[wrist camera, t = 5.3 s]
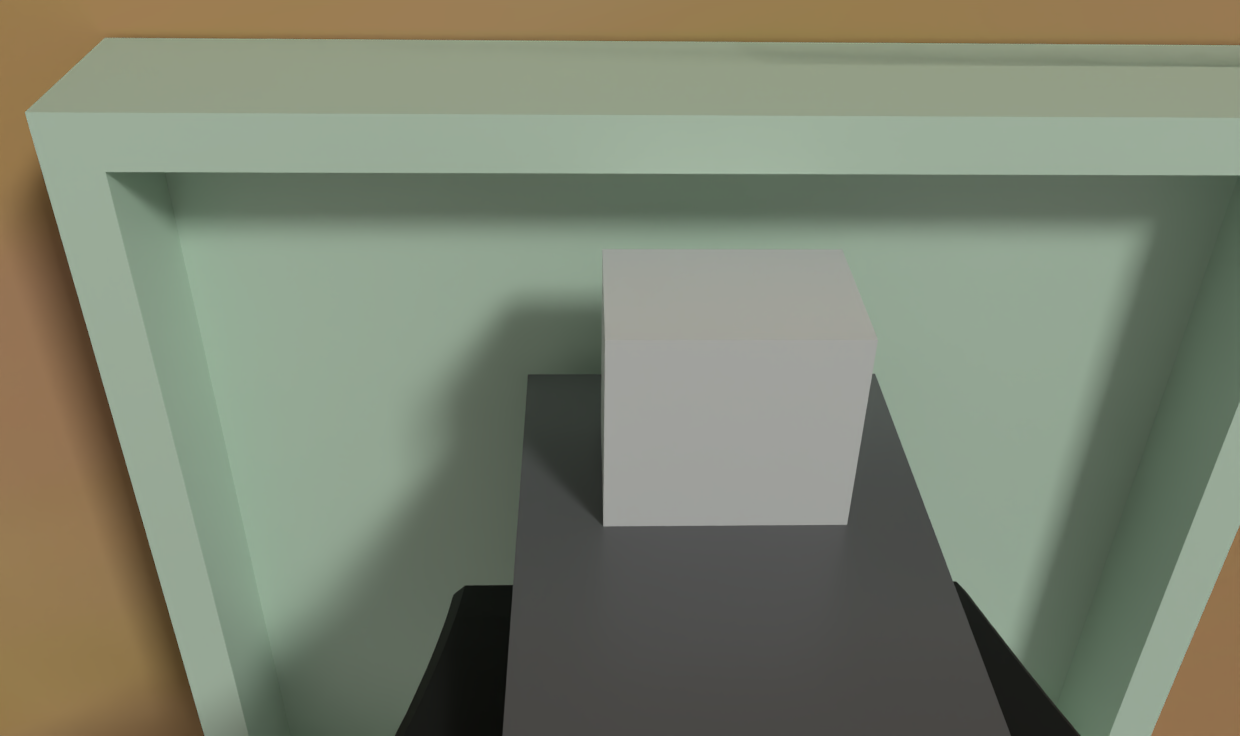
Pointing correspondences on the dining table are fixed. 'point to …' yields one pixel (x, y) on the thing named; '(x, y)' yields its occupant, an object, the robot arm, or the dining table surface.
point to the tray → (572, 319)
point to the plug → (731, 522)
